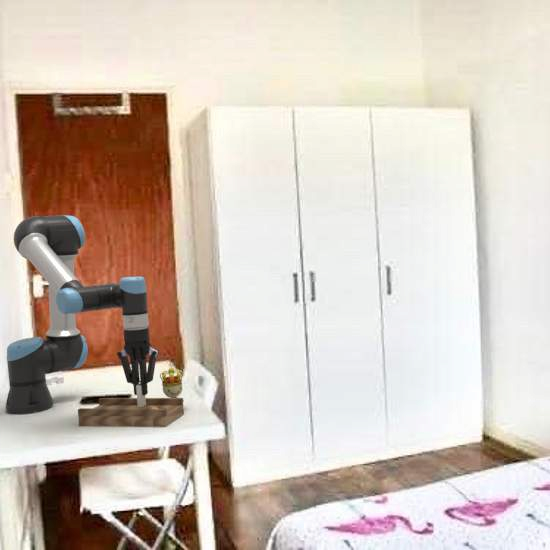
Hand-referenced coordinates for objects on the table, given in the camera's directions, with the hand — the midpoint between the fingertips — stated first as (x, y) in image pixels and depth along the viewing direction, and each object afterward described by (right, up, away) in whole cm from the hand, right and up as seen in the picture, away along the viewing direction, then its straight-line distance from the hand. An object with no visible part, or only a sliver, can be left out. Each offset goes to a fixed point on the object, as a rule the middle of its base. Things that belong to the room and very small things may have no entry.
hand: (141, 405), depth 209 cm
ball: (+4, -2, -1) cm, 5 cm away
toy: (+8, -4, +10) cm, 14 cm away
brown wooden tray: (-3, -5, +1) cm, 6 cm away
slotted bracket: (-49, -4, +70) cm, 86 cm away
